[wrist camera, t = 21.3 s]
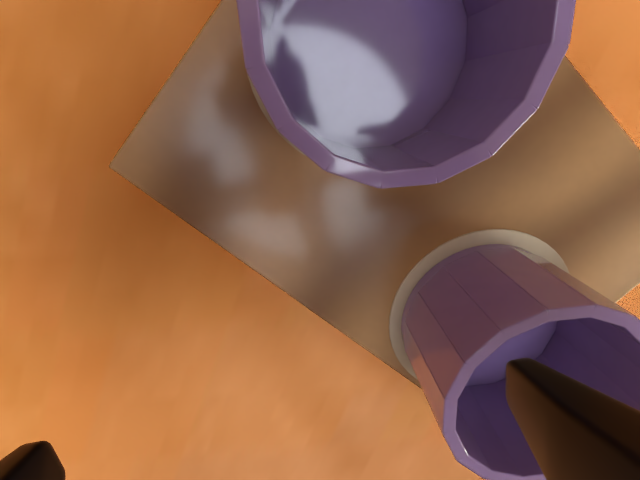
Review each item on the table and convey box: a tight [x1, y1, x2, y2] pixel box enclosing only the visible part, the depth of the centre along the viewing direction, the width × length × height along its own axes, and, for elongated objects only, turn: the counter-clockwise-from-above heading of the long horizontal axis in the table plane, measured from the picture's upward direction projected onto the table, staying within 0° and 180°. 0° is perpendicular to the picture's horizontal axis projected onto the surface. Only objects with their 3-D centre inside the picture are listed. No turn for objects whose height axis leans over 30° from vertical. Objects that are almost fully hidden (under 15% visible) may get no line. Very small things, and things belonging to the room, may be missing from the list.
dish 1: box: [236, 0, 576, 189], centre depth 9 cm, size 6×6×4 cm
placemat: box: [109, 0, 640, 389], centre depth 13 cm, size 18×12×1 cm, turn 49°
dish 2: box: [401, 244, 640, 480], centre depth 13 cm, size 6×6×4 cm
